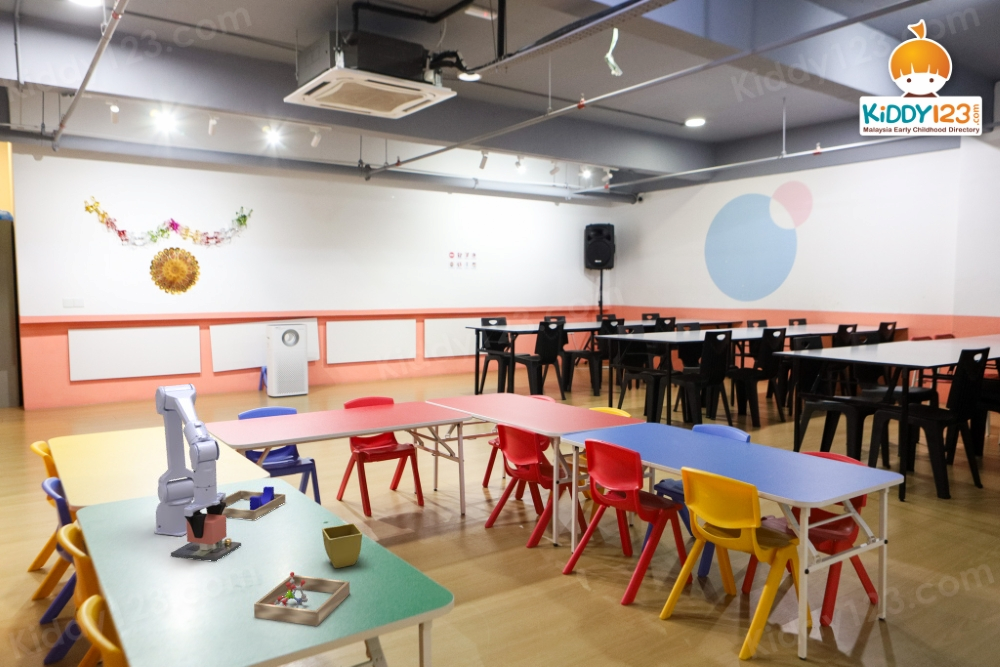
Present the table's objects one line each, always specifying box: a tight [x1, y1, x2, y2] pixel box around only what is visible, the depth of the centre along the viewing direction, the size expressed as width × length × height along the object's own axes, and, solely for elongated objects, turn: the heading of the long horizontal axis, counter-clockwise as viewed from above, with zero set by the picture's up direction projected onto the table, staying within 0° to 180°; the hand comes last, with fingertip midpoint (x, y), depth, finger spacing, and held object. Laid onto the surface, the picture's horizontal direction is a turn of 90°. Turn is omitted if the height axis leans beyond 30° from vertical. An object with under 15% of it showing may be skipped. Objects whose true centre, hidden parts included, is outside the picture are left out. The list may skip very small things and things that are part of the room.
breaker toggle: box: [200, 543, 213, 550], centre depth 180 cm, size 2×2×3 cm
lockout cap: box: [186, 512, 228, 545], centre depth 180 cm, size 8×6×6 cm
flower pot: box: [321, 523, 363, 569], centre depth 174 cm, size 9×9×9 cm
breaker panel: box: [170, 538, 242, 562], centre depth 182 cm, size 14×11×2 cm
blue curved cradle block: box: [249, 486, 275, 510], centre depth 216 cm, size 12×4×6 cm, turn 177°
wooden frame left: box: [206, 490, 286, 521], centre depth 216 cm, size 17×17×3 cm
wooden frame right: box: [253, 574, 351, 627], centre depth 151 cm, size 15×15×3 cm
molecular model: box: [270, 571, 308, 608], centre depth 150 cm, size 7×8×8 cm
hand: (206, 533), depth 180 cm, fingers closed on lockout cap, 6 cm apart
